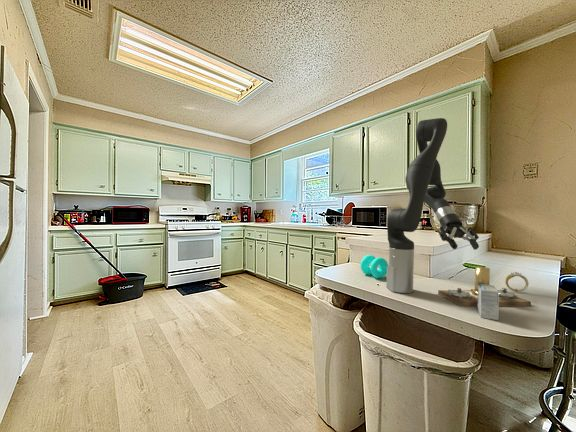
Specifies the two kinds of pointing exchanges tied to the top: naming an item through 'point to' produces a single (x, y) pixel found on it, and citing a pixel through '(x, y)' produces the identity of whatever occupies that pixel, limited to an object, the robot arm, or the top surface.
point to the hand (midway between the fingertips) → (466, 248)
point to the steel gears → (462, 294)
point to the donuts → (374, 266)
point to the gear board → (474, 300)
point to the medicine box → (488, 302)
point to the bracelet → (514, 276)
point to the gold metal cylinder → (481, 278)
